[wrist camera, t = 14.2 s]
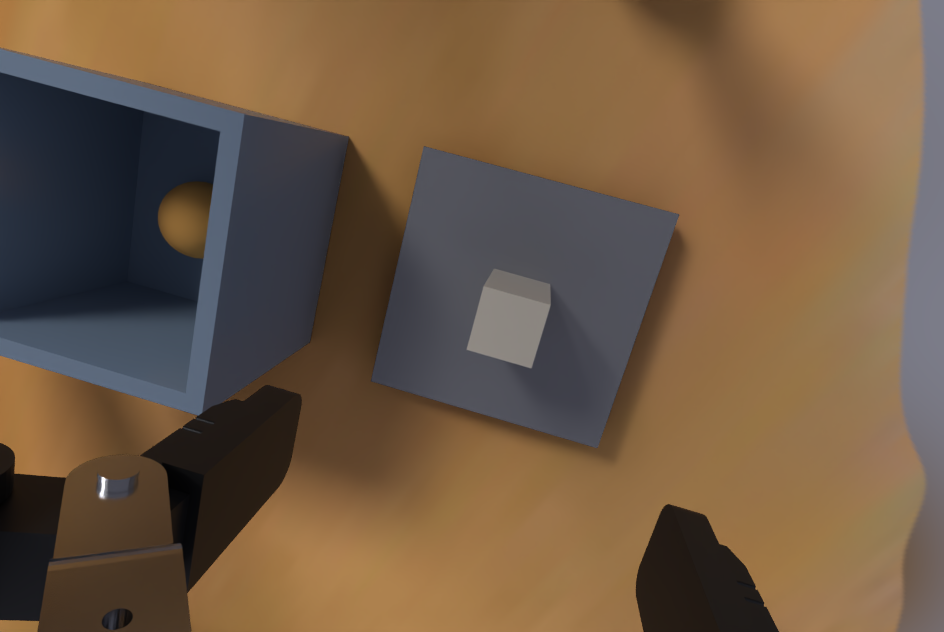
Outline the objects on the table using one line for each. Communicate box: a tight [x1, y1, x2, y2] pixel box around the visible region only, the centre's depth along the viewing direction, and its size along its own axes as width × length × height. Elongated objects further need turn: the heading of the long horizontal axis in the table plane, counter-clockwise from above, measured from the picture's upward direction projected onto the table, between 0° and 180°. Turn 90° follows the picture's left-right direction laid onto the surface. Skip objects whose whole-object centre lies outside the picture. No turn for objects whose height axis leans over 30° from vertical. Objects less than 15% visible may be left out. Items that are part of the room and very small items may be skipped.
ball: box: [158, 181, 213, 259], centre depth 30 cm, size 4×4×4 cm
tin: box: [0, 48, 349, 415], centre depth 27 cm, size 12×12×11 cm
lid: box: [371, 146, 679, 448], centre depth 28 cm, size 13×13×7 cm
